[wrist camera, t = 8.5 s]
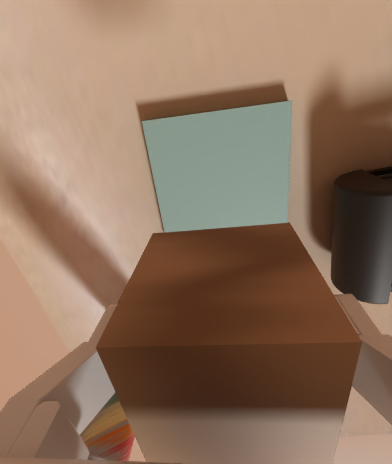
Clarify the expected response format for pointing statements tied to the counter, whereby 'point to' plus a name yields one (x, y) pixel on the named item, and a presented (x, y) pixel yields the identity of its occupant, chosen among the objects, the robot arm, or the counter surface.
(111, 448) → the lotion bottle
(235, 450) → the walnut block
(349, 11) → the counter surface
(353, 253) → the end cap
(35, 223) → the counter surface
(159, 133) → the teal board
